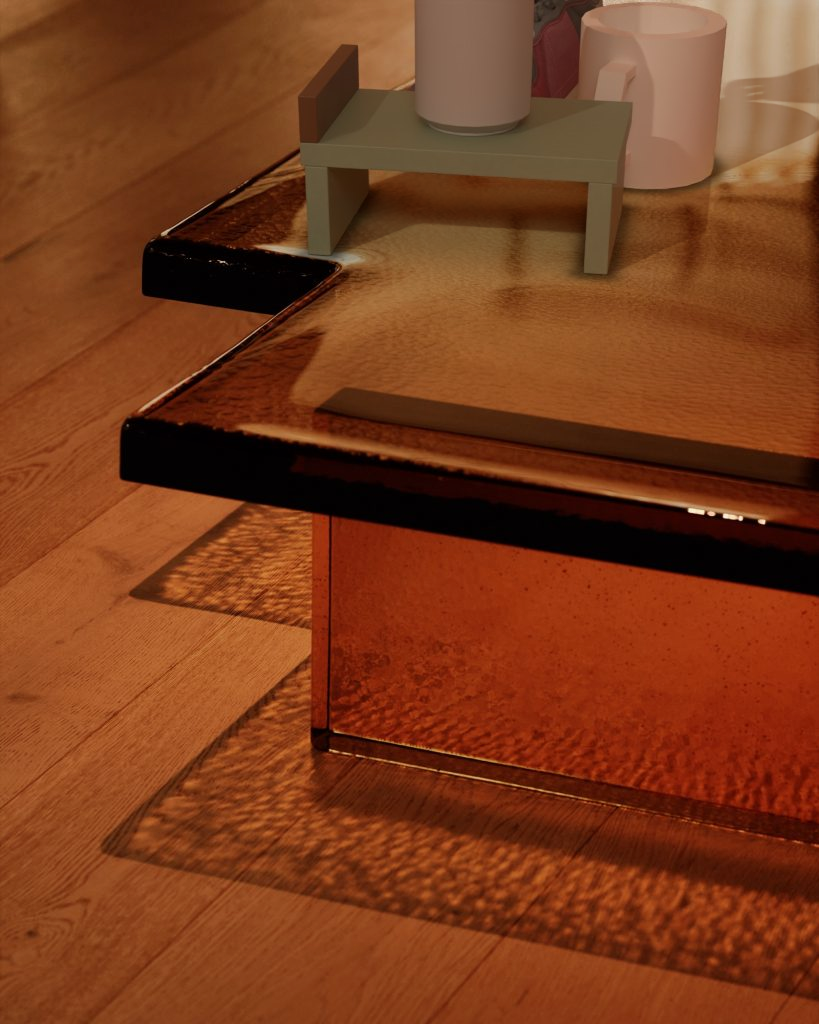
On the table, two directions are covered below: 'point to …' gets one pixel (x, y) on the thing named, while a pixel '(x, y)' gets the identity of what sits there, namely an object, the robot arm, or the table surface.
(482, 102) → the can
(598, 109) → the shelf
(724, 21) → the mug
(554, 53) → the sneaker
